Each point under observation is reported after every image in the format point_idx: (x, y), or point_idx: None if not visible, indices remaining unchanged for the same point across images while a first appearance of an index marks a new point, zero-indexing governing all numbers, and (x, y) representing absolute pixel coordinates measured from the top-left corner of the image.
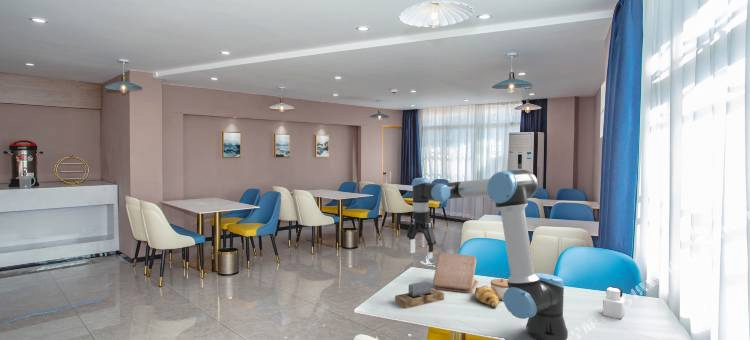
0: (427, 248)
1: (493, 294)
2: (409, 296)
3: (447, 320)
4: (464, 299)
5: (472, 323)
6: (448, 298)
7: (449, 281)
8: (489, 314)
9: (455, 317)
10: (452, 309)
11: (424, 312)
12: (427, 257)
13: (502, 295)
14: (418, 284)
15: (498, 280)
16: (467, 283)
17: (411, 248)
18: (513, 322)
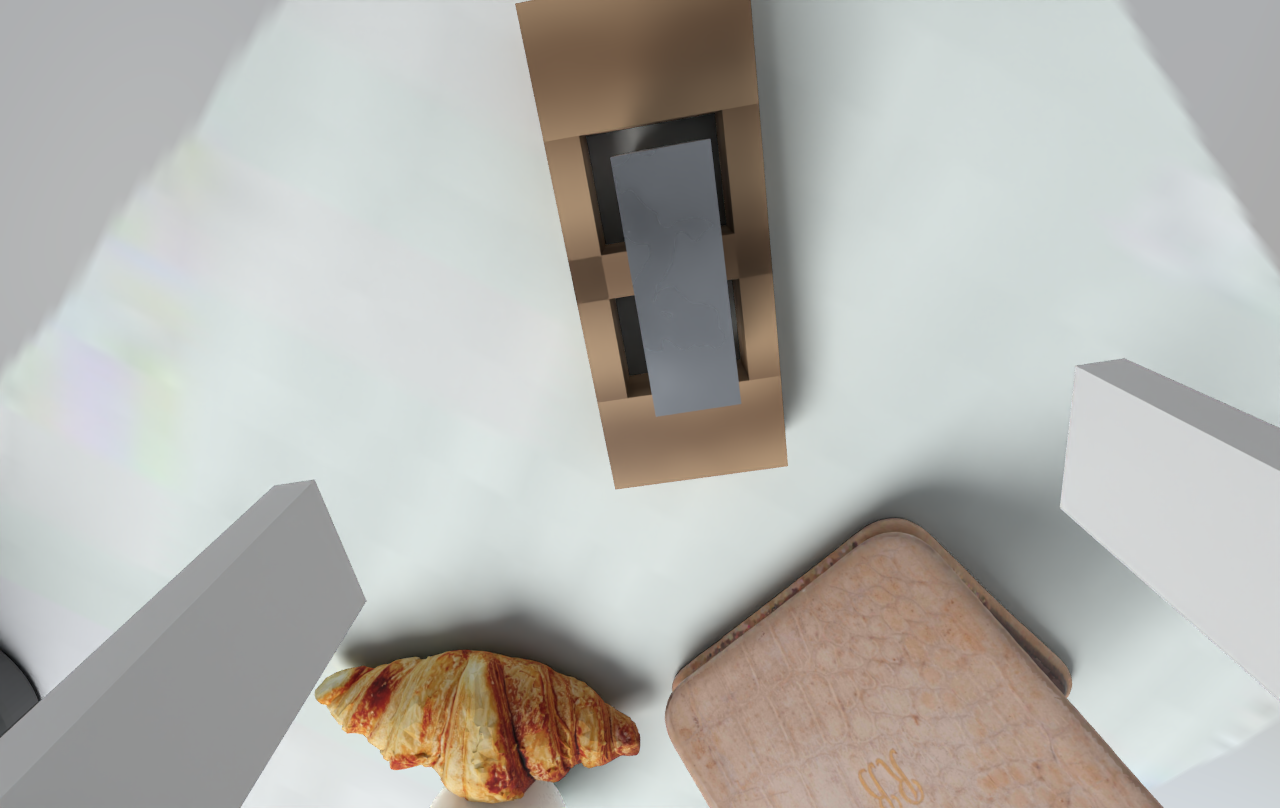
0: (42, 727)
1: (384, 752)
2: (724, 164)
3: (171, 262)
4: (568, 589)
5: (98, 407)
6: (631, 503)
7: (819, 650)
8: None
9: (227, 353)
10: (395, 415)
11: (382, 158)
12: (270, 506)
13: (439, 793)
14: (664, 268)
15: None
16: (703, 733)
17: (1184, 452)
18: (102, 634)
